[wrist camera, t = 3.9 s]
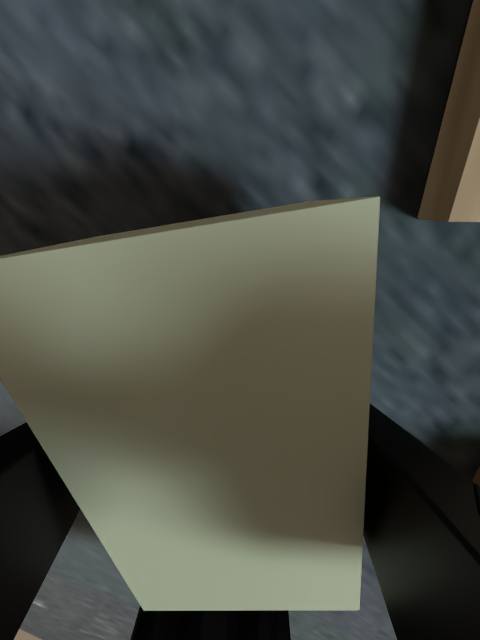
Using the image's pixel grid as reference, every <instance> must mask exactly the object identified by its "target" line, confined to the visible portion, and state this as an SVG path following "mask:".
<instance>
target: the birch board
mask: <svg viewBox="0 0 480 640" xmlns="http://www.w3.org/2000/svg"><path fill="white" fill-rule="evenodd" d="M417 219H424V220H435V221H446V222H480V0H473V3H472V7H471V11H470V15H469V19H468V23H467V27H466V31H465V34H464V38H463V42H462V46H461V50H460V54H459V58H458V62H457V66H456V70H455V73H454V77H453V81H452V85H451V89H450V93H449V97H448V101H447V105H446V108H445V112H444V116H443V120H442V124H441V128H440V132H439V136H438V140H437V144H436V147H435V151H434V155H433V159H432V163H431V167H430V171H429V175H428V179H427V183H426V186H425V190H424V194H423V198H422V202H421V206H420V210H419V214H418V218H417Z"/></svg>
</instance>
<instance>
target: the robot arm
mask: <svg viewBox="0 0 480 640" xmlns="http://www.w3.org/2000/svg"><path fill="white" fill-rule="evenodd" d="M79 510H80V507H79V506H78V504H77V502H76V501H75V499H74V498H73V496H72V494H71V493H70V491H69V489H68V488H67V486H66V485H65V483H64V481H63V480H62V478H61V477H60V475H59V473H58V472H57V470H56V469H55V467H54V465H53V464H52V462H51V460H50V459H49V457H48V456H47V454H46V452H45V451H44V449H43V448H42V446H41V444H40V443H39V441H38V440H37V438H36V436H35V435H34V433H33V431H32V430H31V428H30V427H29V425H28V423H27V422H26V423H24V424H22V425H21V426H19V427H17V428H15V429H13V430H11V431H9V432H7V433H5V434H4V435H2V436H0V640H14V638H15V635H16V634H17V632H18V630H19V628H20V626H21V624H22V622H23V620H24V618H25V616H26V614H27V612H28V610H29V608H30V606H31V604H32V602H33V600H34V598H35V596H36V595H37V593H38V591H39V589H40V587H41V585H42V583H43V581H44V579H45V577H46V575H47V573H48V571H49V569H50V567H51V565H52V563H53V561H54V559H55V557H56V555H57V553H58V551H59V549H60V547H61V545H62V544H63V542H64V540H65V538H66V536H67V534H68V532H69V530H70V528H71V526H72V524H73V522H74V520H75V518H76V516H77V514H78V512H79ZM363 536H364V539H365V542H366V545H367V548H368V551H369V554H370V558H371V561H372V564H373V567H374V570H375V573H376V576H377V579H378V582H379V585H380V588H381V591H382V594H383V597H384V600H385V603H386V607H387V610H388V613H389V616H390V619H391V622H392V625H393V628H394V631H395V634H396V637H397V640H480V486H479V485H478V484H473V481H472V480H471V479H470V478H468V477H467V476H466V475H464V474H463V473H462V472H460V471H459V470H458V469H456V468H455V467H454V466H452V465H451V464H450V463H448V462H447V461H446V460H444V459H443V458H442V457H440V456H439V455H438V454H436V453H435V452H434V451H432V450H431V449H430V448H428V447H427V446H426V445H424V444H423V443H422V442H420V441H419V440H418V439H417V438H415V437H414V436H413V435H411V434H410V433H409V432H407V431H406V430H405V429H403V428H402V427H401V426H399V425H398V424H397V423H395V422H394V421H393V420H391V419H390V418H389V417H387V416H386V415H385V414H383V413H382V412H381V411H379V410H378V409H377V408H375V407H374V406H373V405H371V404H370V408H369V427H368V447H367V467H366V487H365V507H364V527H363ZM131 640H291V638H290V626H289V614H288V610H243V611H144V610H143V609H142V607H141V606H140V608H139V612H138V615H137V619H136V622H135V626H134V629H133V633H132V636H131Z"/></svg>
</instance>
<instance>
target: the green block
mask: <svg viewBox="0 0 480 640" xmlns="http://www.w3.org/2000/svg"><path fill="white" fill-rule="evenodd" d="M379 208H380V197H365V198H349V199H333V200H317V201H308V202H302V203H296V204H290V205H284V206H278V207H272V208H265V209H259V210H253V211H247V212H241V213H235V214H229V215H223V216H217V217H211V218H205V219H199V220H193V221H187V222H181V223H175V224H169V225H163V226H157V227H151V228H145V229H139V230H133V231H127V232H121V233H115V234H109V235H103V236H97V237H91V238H86V239H81V240H76V241H71V242H67V243H62V244H57V245H52V246H47V247H42V248H37V249H32V250H27V251H22V252H17V253H12V254H7V255H2V256H0V380H1V381H2V383H3V385H4V386H5V388H6V390H7V391H8V393H9V394H10V396H11V398H12V399H13V401H14V402H15V404H16V406H17V407H18V409H19V411H20V412H21V414H22V415H23V417H24V419H25V420H26V422H27V423H28V425H29V427H30V428H31V430H32V431H33V433H34V435H35V436H36V438H37V440H38V441H39V443H40V444H41V446H42V448H43V449H44V451H45V452H46V454H47V456H48V457H49V459H50V460H51V462H52V464H53V465H54V467H55V469H56V470H57V472H58V473H59V475H60V477H61V478H62V480H63V481H64V483H65V485H66V486H67V488H68V489H69V491H70V493H71V494H72V496H73V498H74V499H75V501H76V502H77V504H78V506H79V507H80V509H81V510H82V512H83V514H84V515H85V517H86V519H87V520H88V522H89V523H90V525H91V527H92V528H93V530H94V531H95V533H96V535H97V536H98V538H99V539H100V541H101V543H102V544H103V546H104V548H105V549H106V551H107V552H108V554H109V556H110V557H111V559H112V560H113V562H114V564H115V565H116V567H117V568H118V570H119V572H120V573H121V575H122V577H123V578H124V580H125V581H126V583H127V585H128V586H129V588H130V589H131V591H132V593H133V594H134V596H135V597H136V599H137V601H138V602H139V604H140V606H141V607H142V609H143V610H144V611H243V610H359V607H360V587H361V567H362V547H363V527H364V507H365V487H366V467H367V447H368V427H369V408H370V388H371V368H372V348H373V328H374V308H375V288H376V268H377V248H378V228H379Z"/></svg>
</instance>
